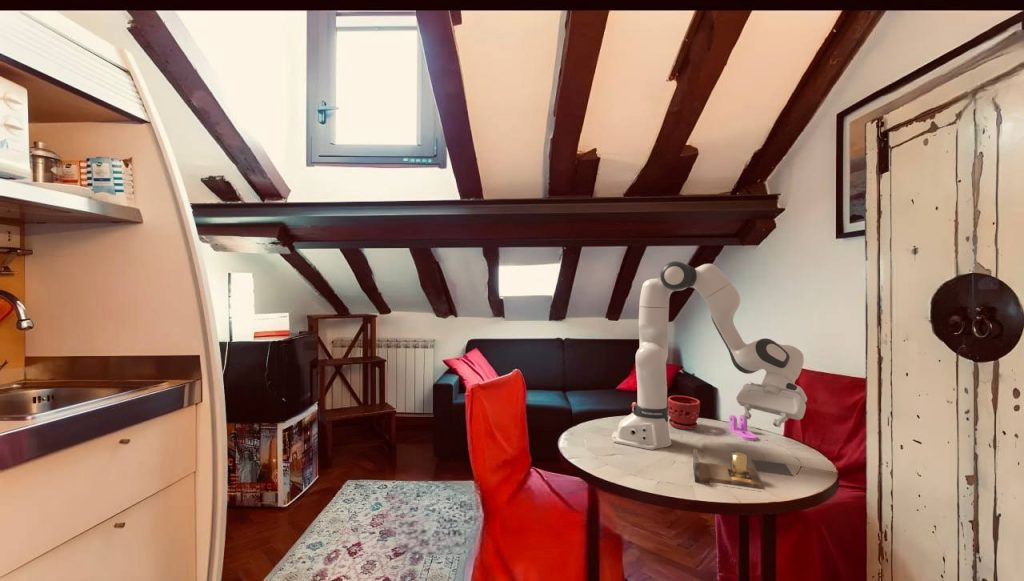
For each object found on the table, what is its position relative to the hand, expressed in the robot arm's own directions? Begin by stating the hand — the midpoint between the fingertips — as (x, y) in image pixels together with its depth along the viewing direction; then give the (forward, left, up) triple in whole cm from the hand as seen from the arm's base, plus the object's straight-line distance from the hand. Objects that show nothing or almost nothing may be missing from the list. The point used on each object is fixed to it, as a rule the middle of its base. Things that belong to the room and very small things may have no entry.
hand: (760, 421), depth 139 cm
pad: (+3, +2, -16) cm, 17 cm away
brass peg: (-8, -10, -16) cm, 21 cm away
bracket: (0, +36, -17) cm, 40 cm away
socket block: (-12, -10, -16) cm, 22 cm away
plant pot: (-23, +40, -16) cm, 49 cm away
